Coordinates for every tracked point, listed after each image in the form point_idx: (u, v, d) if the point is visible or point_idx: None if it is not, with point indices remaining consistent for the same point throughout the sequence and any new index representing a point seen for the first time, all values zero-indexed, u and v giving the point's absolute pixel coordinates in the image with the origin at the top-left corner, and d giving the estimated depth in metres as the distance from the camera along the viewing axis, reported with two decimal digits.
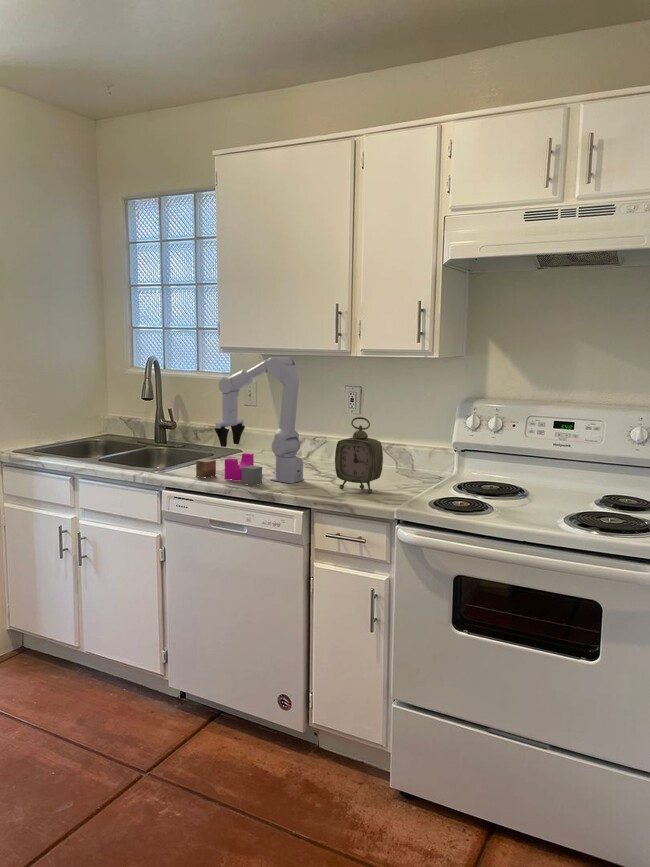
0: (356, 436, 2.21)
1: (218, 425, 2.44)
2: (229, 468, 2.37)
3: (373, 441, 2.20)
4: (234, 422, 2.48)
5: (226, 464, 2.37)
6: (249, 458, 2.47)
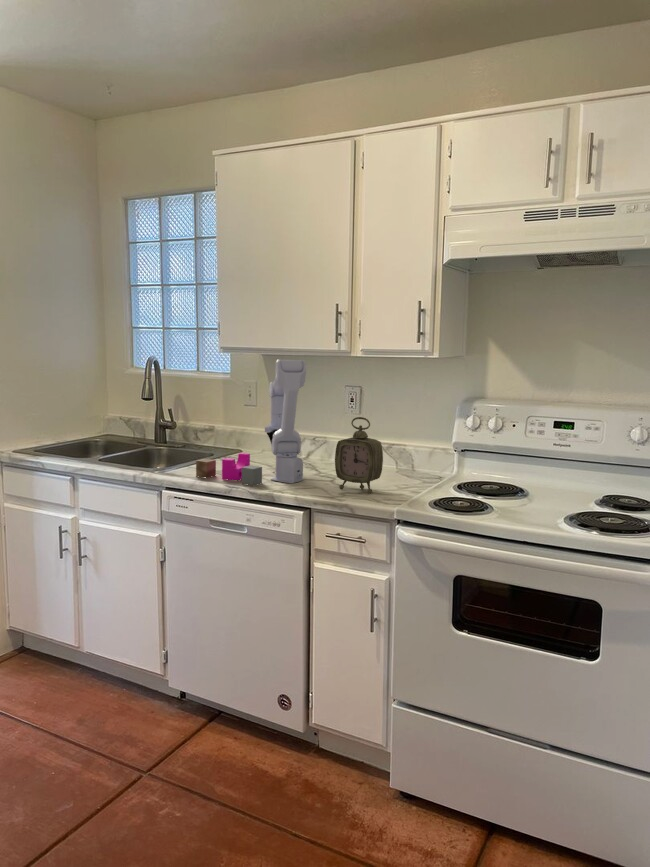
0: (356, 436, 2.21)
1: (268, 429, 2.46)
2: (226, 468, 2.36)
3: (373, 441, 2.20)
4: None
5: (224, 464, 2.37)
6: (246, 458, 2.48)
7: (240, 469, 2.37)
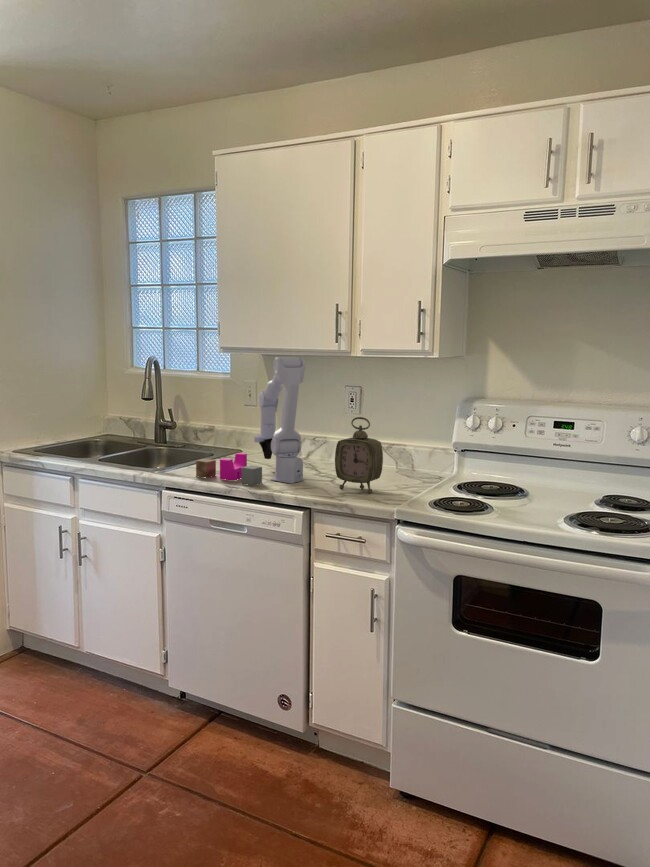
0: (356, 436, 2.21)
1: (257, 439, 2.48)
2: (224, 468, 2.36)
3: (373, 441, 2.20)
4: (272, 436, 2.52)
5: (221, 464, 2.36)
6: (243, 458, 2.48)
7: (238, 469, 2.37)
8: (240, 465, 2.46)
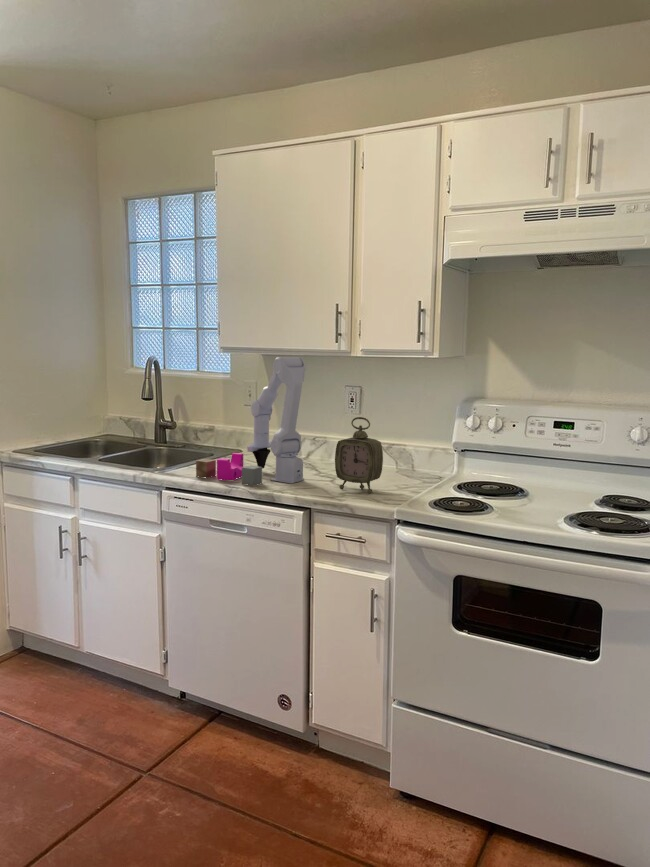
0: (356, 436, 2.21)
1: (250, 449, 2.45)
2: (221, 468, 2.36)
3: (373, 441, 2.20)
4: (266, 445, 2.49)
5: (218, 464, 2.36)
6: (240, 458, 2.48)
7: (235, 469, 2.37)
8: (237, 465, 2.46)
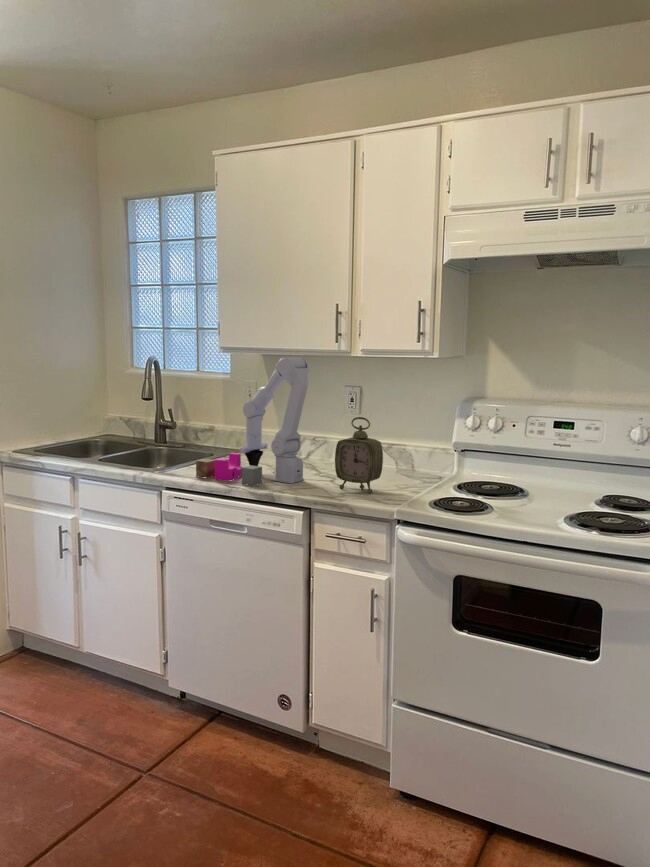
0: (356, 436, 2.21)
1: (242, 450, 2.41)
2: (219, 468, 2.36)
3: (373, 441, 2.20)
4: (258, 447, 2.45)
5: (216, 464, 2.36)
6: (237, 458, 2.47)
7: (233, 469, 2.37)
8: (234, 465, 2.46)
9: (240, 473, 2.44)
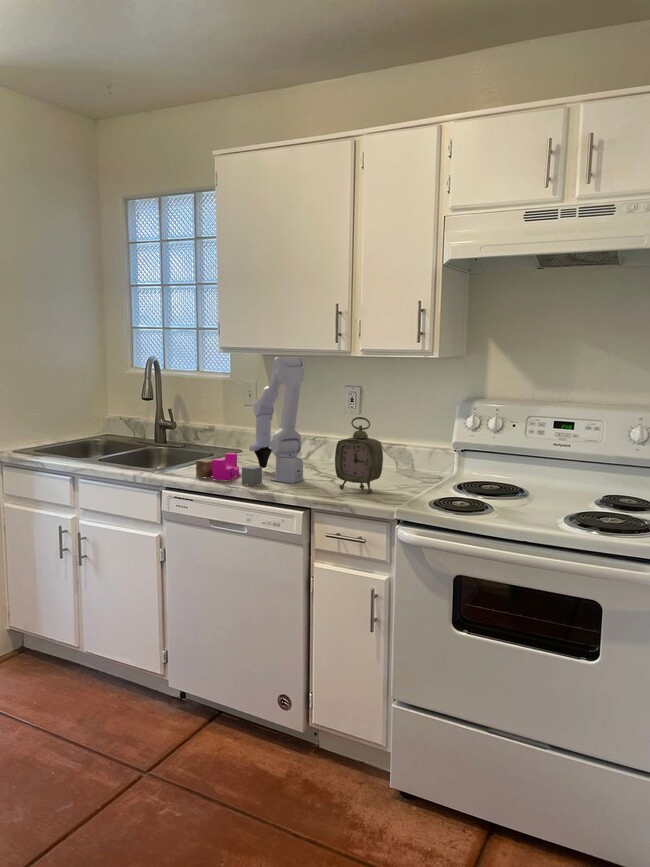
0: (356, 436, 2.21)
1: (252, 448, 2.46)
2: (217, 468, 2.36)
3: (373, 441, 2.20)
4: (268, 445, 2.50)
5: (214, 464, 2.36)
6: (234, 458, 2.47)
7: (231, 469, 2.37)
8: (231, 465, 2.46)
9: (237, 473, 2.44)
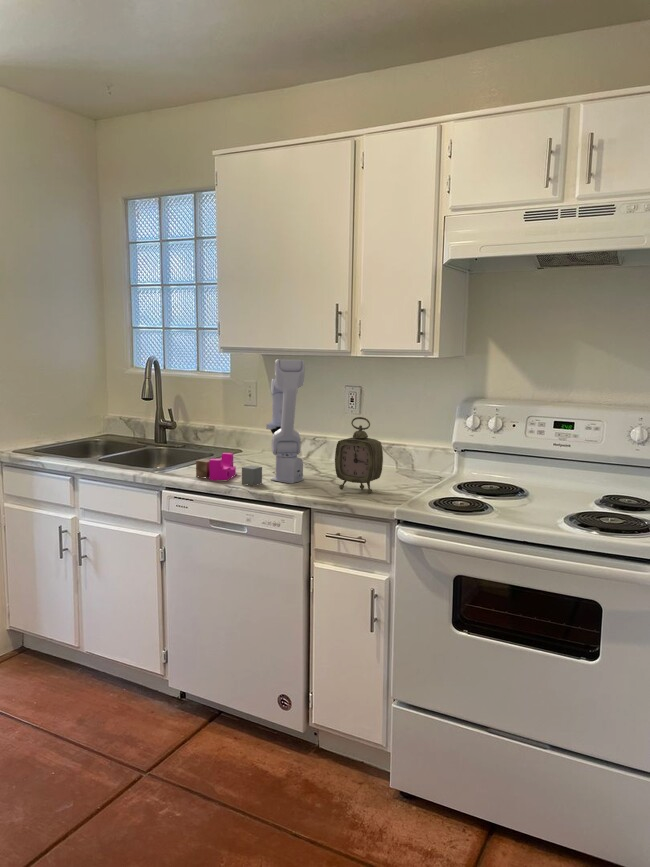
0: (356, 436, 2.21)
1: (269, 426, 2.47)
2: (214, 468, 2.36)
3: (373, 441, 2.20)
4: None
5: (211, 464, 2.36)
6: (230, 458, 2.47)
7: (228, 469, 2.37)
8: (227, 465, 2.46)
9: (234, 473, 2.44)
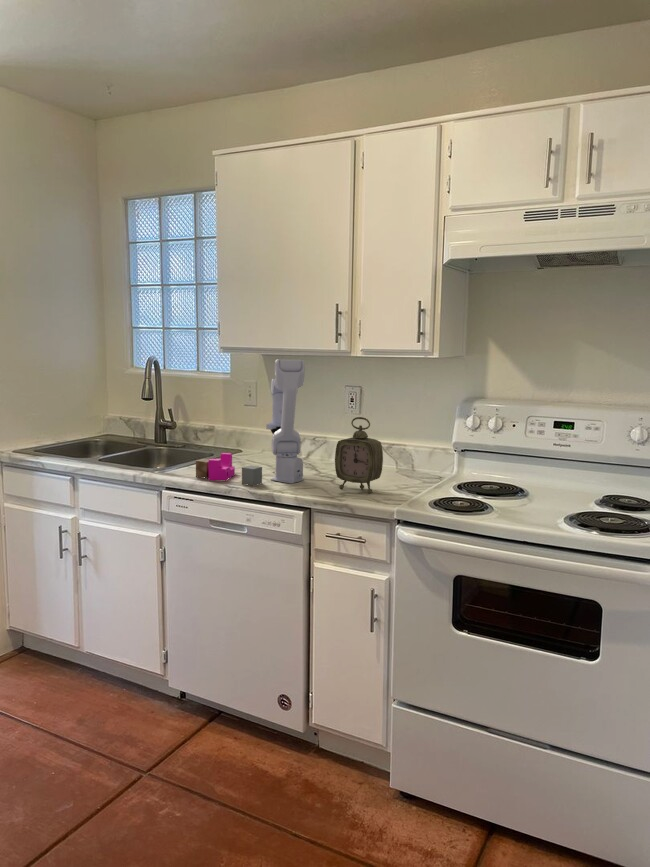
0: (356, 436, 2.21)
1: (269, 426, 2.47)
2: (213, 468, 2.35)
3: (373, 441, 2.20)
4: None
5: (210, 464, 2.35)
6: (229, 458, 2.47)
7: (227, 469, 2.37)
8: (226, 465, 2.46)
9: (233, 473, 2.44)
